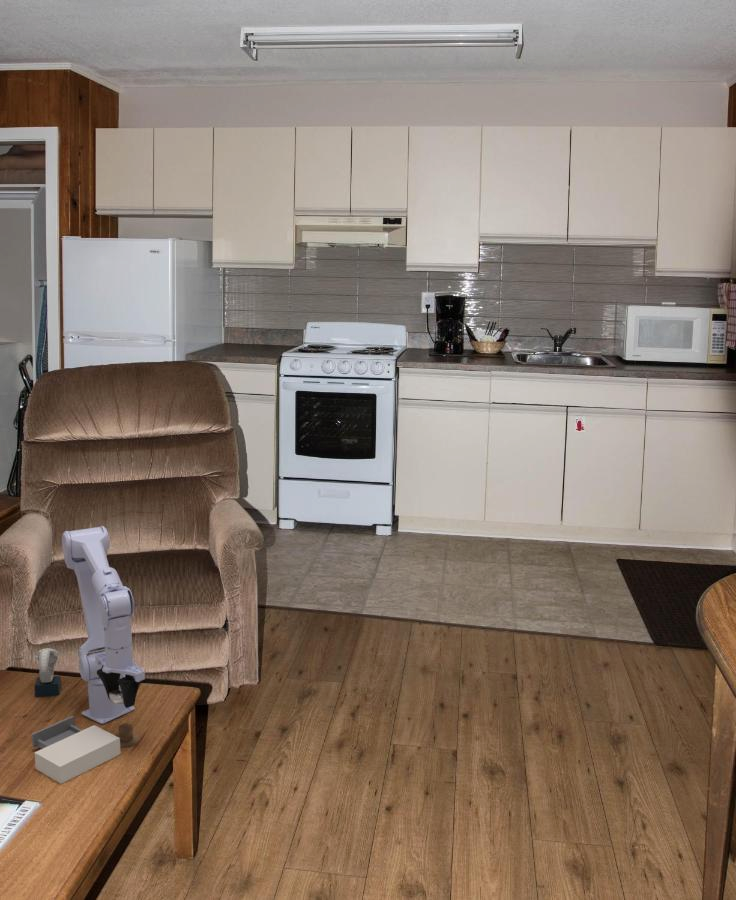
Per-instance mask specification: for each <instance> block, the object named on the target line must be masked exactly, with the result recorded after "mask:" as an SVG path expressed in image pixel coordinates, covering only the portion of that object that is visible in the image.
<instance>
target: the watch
mask: <svg viewBox="0 0 736 900" xmlns="http://www.w3.org/2000/svg"><path fill="white" fill-rule="evenodd" d="M58 658H59V652H58V651H57V650H56V649H53V648H50V647H49V648H43V649H40V650H39V651H37V655H35V660H38V662H39V664H38V665H39V667H38V668H39V672H38V673H39V674H38V675H39V677H37V678H36V681H35V683H34V697H35V698H43V697H56V696H58V695H59V696H60V694H59V693H61V691H60V690H62V676H61V675H56V676H55V675H54V673H55V665H56V664H57V661H58ZM59 696H58V697H59Z"/></svg>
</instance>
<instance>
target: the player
mask: <svg viewBox="0 0 736 900" xmlns="http://www.w3.org/2000/svg"><path fill="white" fill-rule="evenodd" d="M120 755H121V748H120V738H119V737H117V735H114V734H113V733H112V732H111V733H110V732H109V731H107V730H104V728H101V727H98V726H97V725H91V726H89V727H86V728H85V729H82V731H80V732H78V733H76V734H74V735H71V736H69V737H67V738H65V739H63V740H61V741H58V742H56V743H54V744H52V745H50V746H48V747H45V748H43V749H41V748H40V749H39V750H37V751H35V752H34V762H35V763H34V764H35V769H36V771H38V772H40V773H42V774H43V775H45V776H47V777H48V778H50V779H52V780H54V781H56V782H57V783H59V784H61V785H62V784H64V783H66V782H68V781H70V780H72V779H74V778H76V777H78V776H79V775H82V774H84V773H86V772H89V771H90V770H91V769H94V768H95V767H98V766H99V765H102V764H104V763H105V762H107V761H109V760H112V759H113V758H114V759H115V758H116V757H118V756H120Z"/></svg>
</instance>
